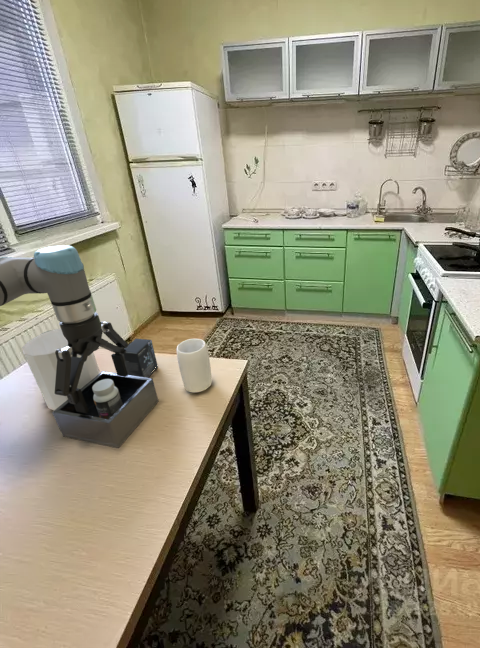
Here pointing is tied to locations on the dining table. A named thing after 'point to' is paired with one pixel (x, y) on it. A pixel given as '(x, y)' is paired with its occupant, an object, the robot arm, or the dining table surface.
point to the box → (140, 358)
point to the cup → (194, 365)
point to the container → (53, 365)
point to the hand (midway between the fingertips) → (104, 392)
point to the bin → (113, 431)
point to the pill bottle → (106, 398)
